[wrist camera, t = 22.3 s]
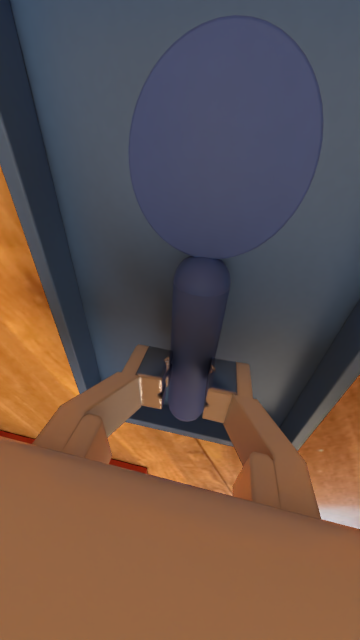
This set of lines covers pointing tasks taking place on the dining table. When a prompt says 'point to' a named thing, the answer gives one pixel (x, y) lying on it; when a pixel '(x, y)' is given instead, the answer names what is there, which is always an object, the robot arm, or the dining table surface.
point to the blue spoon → (220, 169)
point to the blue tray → (137, 234)
